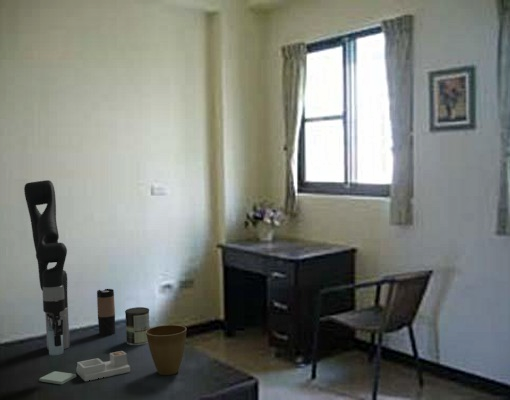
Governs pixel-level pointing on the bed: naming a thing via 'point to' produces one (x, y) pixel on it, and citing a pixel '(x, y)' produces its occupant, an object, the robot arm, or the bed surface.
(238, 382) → the bed surface
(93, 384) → the bed surface
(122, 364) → the housing
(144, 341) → the coffee can
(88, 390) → the bed surface
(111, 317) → the travel mug
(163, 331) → the plant pot
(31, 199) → the robot arm
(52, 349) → the blue-grey elongated rounded piece
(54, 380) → the mat
